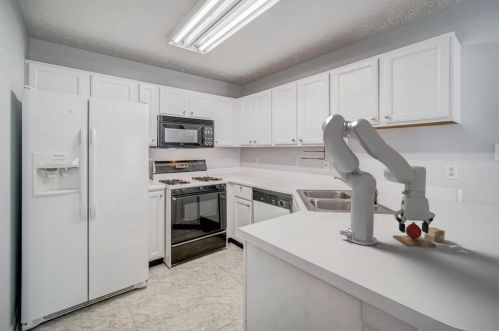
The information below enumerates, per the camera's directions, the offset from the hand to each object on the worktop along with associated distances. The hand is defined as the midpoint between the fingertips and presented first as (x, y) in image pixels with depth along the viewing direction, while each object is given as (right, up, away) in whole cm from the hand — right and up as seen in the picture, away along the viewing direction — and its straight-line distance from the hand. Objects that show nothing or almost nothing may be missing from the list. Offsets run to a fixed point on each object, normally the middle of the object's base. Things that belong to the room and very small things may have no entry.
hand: (413, 232), depth 102 cm
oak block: (+11, -4, +2) cm, 12 cm away
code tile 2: (+11, -5, +2) cm, 12 cm away
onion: (0, -4, 0) cm, 4 cm away
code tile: (+12, -5, -8) cm, 15 cm away
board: (0, -5, 0) cm, 5 cm away
